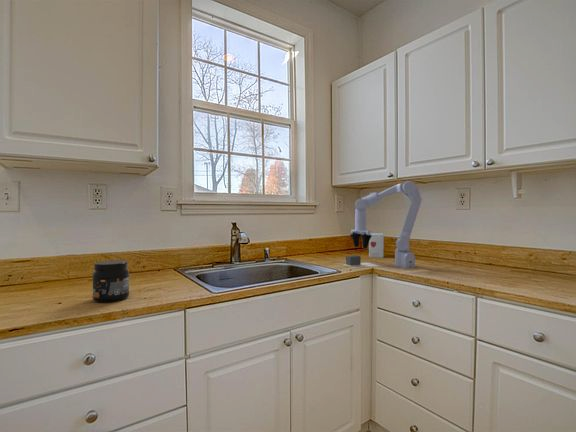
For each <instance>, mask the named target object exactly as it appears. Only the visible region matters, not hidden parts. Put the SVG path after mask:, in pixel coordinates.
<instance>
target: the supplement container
mask: <svg viewBox="0 0 576 432" xmlns="http://www.w3.org/2000/svg"><path fill="white" fill-rule="evenodd" d="M128 262H129V261H127V260H123V259H122V260H121V259H120V260H119V259H118V260H117V259H116V260H104V261H103V260H102V261H97V262H94V263H93V270H94V272H93V273H92V275H91V278H92V300H93V302H95V303H100V304H101V303H102V304H108V303H115V302H120V301H123V300H125V299H127V298H128V297H129V295H130V270H129V269H128V266H129V265H128V264H129V263H128Z"/></svg>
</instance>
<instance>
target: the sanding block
mask: <svg viewBox="0 0 576 432" xmlns="http://www.w3.org/2000/svg"><path fill="white" fill-rule="evenodd" d="M361 259H362V258H361V255H357V254H356V255H355V254H353V255H350V254H349V255H345V264H346V265H345V266H346V267H349V266H350V267H349V268H353V266H361V263H362V262H361Z"/></svg>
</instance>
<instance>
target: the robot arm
mask: <svg viewBox="0 0 576 432" xmlns="http://www.w3.org/2000/svg"><path fill="white" fill-rule="evenodd" d="M403 193H404V195H406V196H407V197H408V199H409V201H410V204H409V207H408V210H407V213H406V216H405V220H404V223H403V226H402V229H401V232H400V234H399V236H398V237H397V239H396V240H395V246H396V248H395V249H394V266H395V267H398V268H404V269H410V268H413V269H414V268H416V255H415V254H414V253H413V252H411V249H410V244H411V243H410V238H411V235H412V232H413V228H414V225H415V222H416V218H417V216H418V213H419V210H420V206H421V203H422V196H421V193H420V190H419V186H418V185H417V184H416V183H415V182H414V181H412V180H406V181H404V182H401V183H398V184H395V185H393V186H390V187H389V188H386V189H385V190H383V191H380V192H379V193H378V192H375V191H374V192H372V191H371V192H370V193H369V194H368V195H366V196H361V198H358V199H357V200H355V202H354V207H355V210H354V212H355V213H354V215H355V217H354V228H355V229H350V230H351V232H350V233H351V234H350V237H351V239H352V242H353V245H354V248H358V247H359V246H360V238H361V242H362V248H363V249H368V248H369V240H370V238H371V237H372V235H371V233H372V231H371V230H367V212H366V211H367V210H366V209H367V207H368V208H370V207H372V206H375V205H376V204H379V203H380V202H381V199H384V198H387V197H389V196H392V195H394V194H403Z"/></svg>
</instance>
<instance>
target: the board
mask: <svg viewBox="0 0 576 432" xmlns="http://www.w3.org/2000/svg"><path fill="white" fill-rule="evenodd" d="M341 265H342V266H346V263H343V264H341ZM348 267H349V268H351V267H350V266H348ZM369 267H370V268H373V267H381V265H379V264H376V263H370V262H361V266H353V267H352V268H353V269H357V268H360V269H361V268H369Z"/></svg>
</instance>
